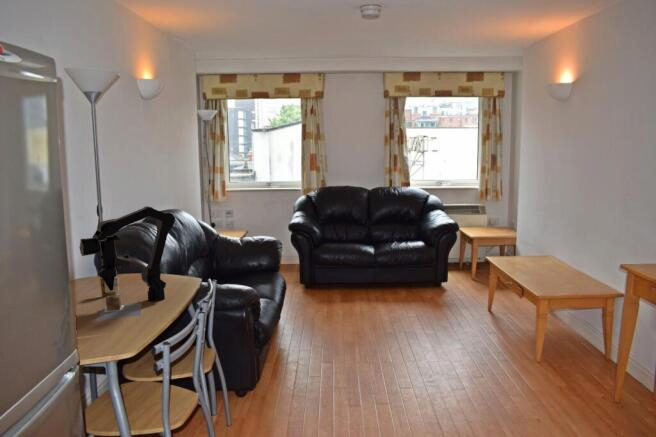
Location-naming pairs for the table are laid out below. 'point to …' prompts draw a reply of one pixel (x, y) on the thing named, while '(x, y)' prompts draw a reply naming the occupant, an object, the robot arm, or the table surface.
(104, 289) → the condiment
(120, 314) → the grey base plate
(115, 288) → the birch block
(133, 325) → the table surface
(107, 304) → the walnut block
